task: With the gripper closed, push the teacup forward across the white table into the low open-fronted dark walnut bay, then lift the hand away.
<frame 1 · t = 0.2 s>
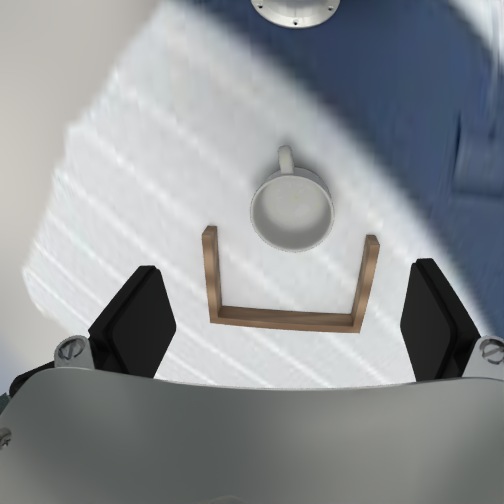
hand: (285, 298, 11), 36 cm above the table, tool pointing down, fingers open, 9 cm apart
walnut bay: (289, 273, 52), on the table
teacup: (293, 186, 45), on the table
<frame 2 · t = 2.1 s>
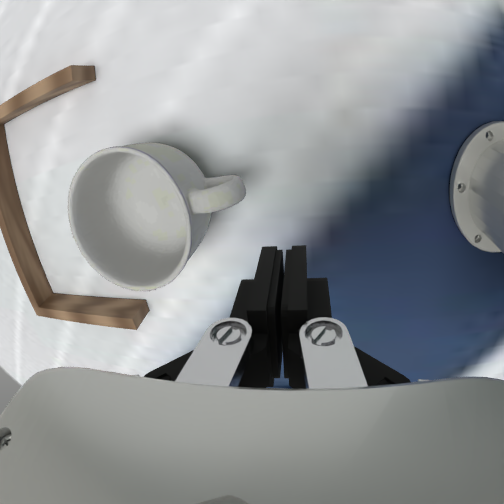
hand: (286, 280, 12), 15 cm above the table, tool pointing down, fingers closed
walnut bay: (62, 206, 29), on the table
teacup: (181, 189, 27), on the table
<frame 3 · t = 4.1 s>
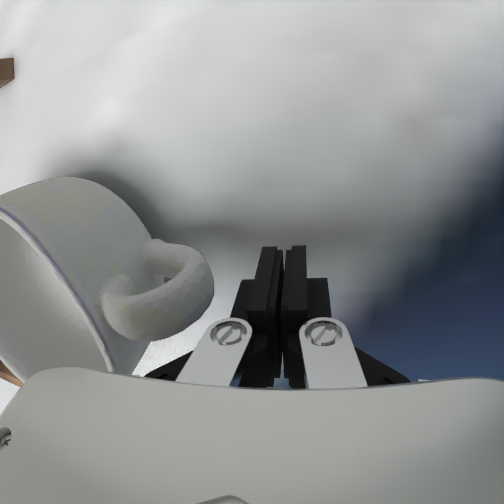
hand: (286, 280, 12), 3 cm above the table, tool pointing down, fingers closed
teacup: (124, 245, 16), on the table, touching gripper
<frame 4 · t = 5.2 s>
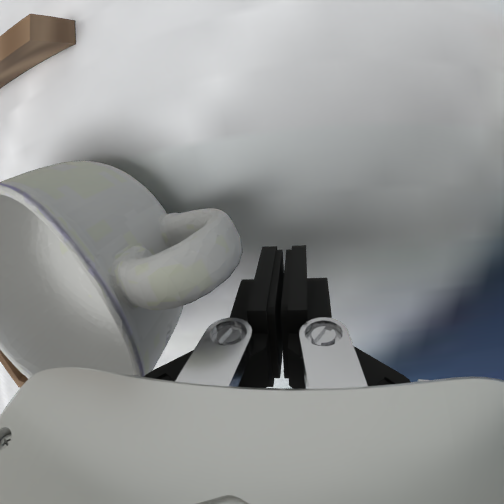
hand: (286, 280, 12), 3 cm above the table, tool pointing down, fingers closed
walnut bay: (31, 253, 18), on the table
teacup: (139, 232, 16), on the table, touching gripper
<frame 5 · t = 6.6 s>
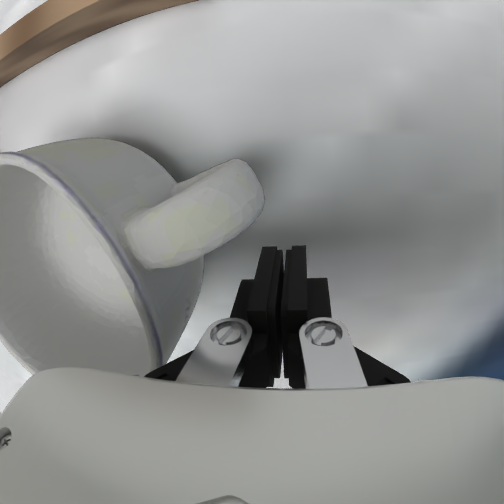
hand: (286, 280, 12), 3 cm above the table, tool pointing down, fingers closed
walnut bay: (109, 250, 16), on the table
teacup: (149, 214, 15), on the table, touching gripper
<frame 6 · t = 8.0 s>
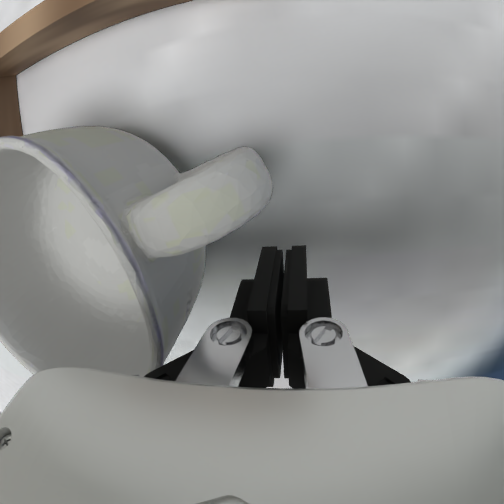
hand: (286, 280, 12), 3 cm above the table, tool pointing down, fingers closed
walnut bay: (157, 249, 16), on the table
teacup: (149, 206, 15), on the table, touching gripper
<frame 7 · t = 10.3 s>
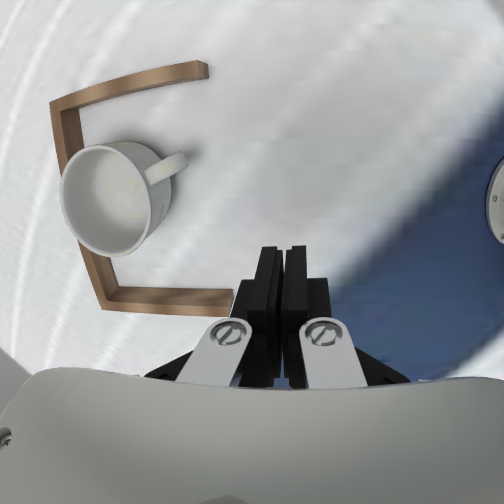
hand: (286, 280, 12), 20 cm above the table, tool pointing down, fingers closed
walnut bay: (151, 197, 33), on the table
teacup: (148, 177, 32), on the table
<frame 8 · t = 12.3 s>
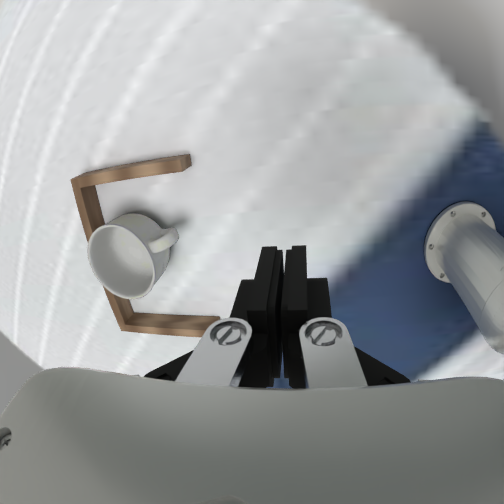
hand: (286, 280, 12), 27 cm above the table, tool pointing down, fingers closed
walnut bay: (155, 251, 45), on the table
teacup: (152, 236, 44), on the table
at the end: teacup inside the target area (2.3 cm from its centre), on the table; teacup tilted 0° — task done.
